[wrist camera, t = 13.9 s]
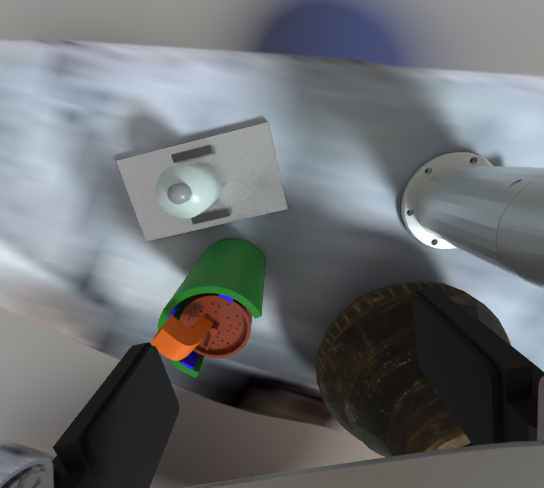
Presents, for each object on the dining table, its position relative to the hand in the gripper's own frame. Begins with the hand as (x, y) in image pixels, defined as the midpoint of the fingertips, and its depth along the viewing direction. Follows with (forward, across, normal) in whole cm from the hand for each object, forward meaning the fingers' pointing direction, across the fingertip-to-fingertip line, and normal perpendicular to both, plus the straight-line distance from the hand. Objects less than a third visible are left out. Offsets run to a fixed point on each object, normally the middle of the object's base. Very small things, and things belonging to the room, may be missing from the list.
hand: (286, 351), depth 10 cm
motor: (+31, +9, +7) cm, 33 cm away
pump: (+29, +9, -6) cm, 31 cm away
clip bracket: (+30, +9, -6) cm, 32 cm away
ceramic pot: (+31, -12, +23) cm, 40 cm away
